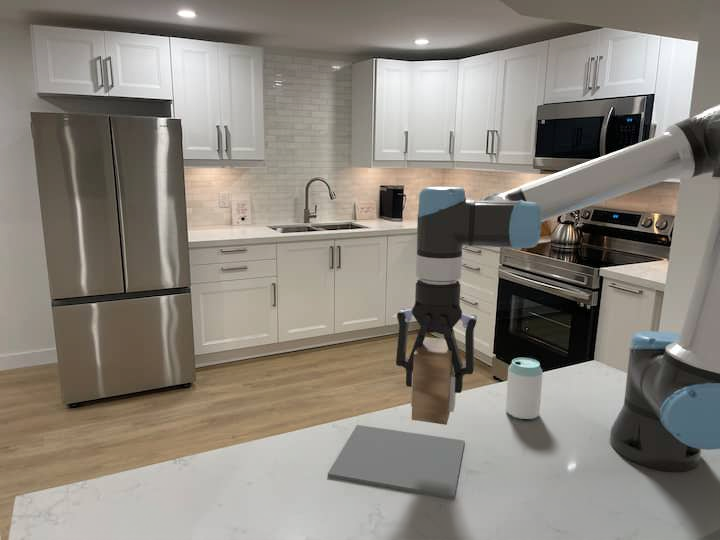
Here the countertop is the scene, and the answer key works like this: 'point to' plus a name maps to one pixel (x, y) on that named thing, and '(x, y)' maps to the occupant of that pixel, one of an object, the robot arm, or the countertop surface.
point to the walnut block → (432, 381)
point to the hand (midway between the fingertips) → (433, 405)
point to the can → (524, 388)
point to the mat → (400, 461)
